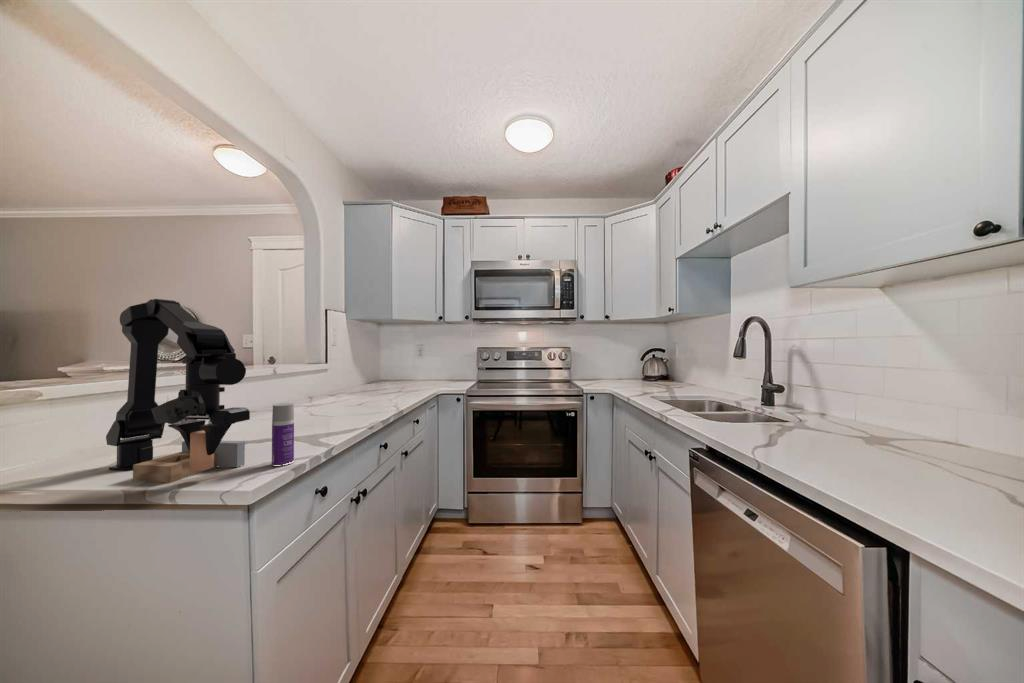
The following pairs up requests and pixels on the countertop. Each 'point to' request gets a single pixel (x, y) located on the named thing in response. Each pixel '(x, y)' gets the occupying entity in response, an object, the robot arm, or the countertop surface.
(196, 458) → the dowel
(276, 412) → the container
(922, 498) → the countertop surface
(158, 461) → the socket block
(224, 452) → the backstop wall
